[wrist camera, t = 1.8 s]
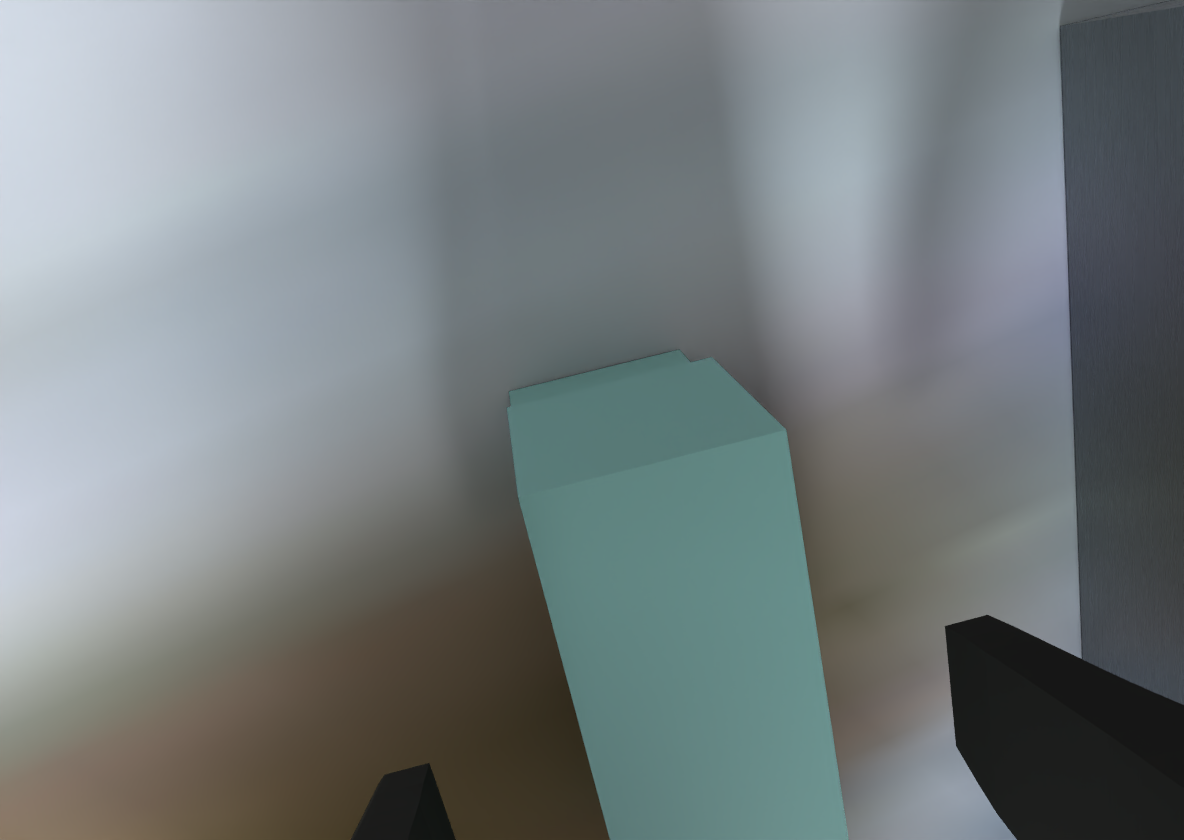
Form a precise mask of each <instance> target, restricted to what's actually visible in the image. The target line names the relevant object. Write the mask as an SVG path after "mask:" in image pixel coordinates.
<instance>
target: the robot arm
mask: <svg viewBox="0 0 1184 840" xmlns="http://www.w3.org/2000/svg"><path fill="white" fill-rule="evenodd" d="M945 631H946V642H947V653H948V664H949V674H950V685H951V696H952V707H953V717H954V728H955V739H956V746H957V748H958V750H959V752H960V753H961V755H962V757H963V758H964V760H965V762H966V764H967V765H968V767H969V769H970V770H971V772H972V774H973V775H974V777H975V779H976V781H977V782H978V784H979V785H980V787H981V789H982V790H983V792H984V793H985V795H986V797H987V798H988V800H989V801H990V803H991V805H992V806H993V808H994V810H995V811H996V813H997V814H998V815H999V817H1000V818H1001V819H1002V821H1003V822H1004V823H1005V825H1006V826H1007V827H1008V829H1009V830H1010V831H1011V832H1012V834H1013V835H1014V836H1015V838H1016V839H1017V840H1184V705H1183V704H1180V703H1178V702H1175V701H1173V700H1171V699H1169V698H1166V697H1164V696H1162V695H1159V694H1157V693H1155V692H1152V691H1150V690H1148V689H1145V688H1143V687H1141V686H1139V685H1136V684H1134V683H1132V682H1130V681H1127V680H1125V679H1123V678H1121V677H1119V676H1117V675H1114V674H1112V673H1110V672H1108V671H1106V670H1104V669H1101V668H1099V667H1097V666H1095V665H1093V664H1091V663H1089V662H1087V661H1084V660H1082V659H1080V658H1078V657H1076V656H1074V655H1072V654H1070V653H1068V652H1066V651H1064V650H1061V649H1059V648H1057V647H1055V646H1053V645H1051V644H1049V643H1047V642H1045V641H1043V640H1041V639H1039V638H1037V637H1034V636H1032V635H1030V634H1028V633H1026V632H1024V631H1022V630H1020V629H1018V628H1016V627H1013V626H1011V625H1009V624H1007V623H1005V622H1003V621H1000V620H998V619H996V618H994V617H991V616H989V615H985V616H981V617H978V618H974V619H970V620H966V621H963V622H959V623H955V624H951V625H948V626H945ZM351 840H456V839H455V836H454V833H453V830H452V828H451V825H450V822H449V819H448V816H447V813H446V810H445V807H444V804H443V801H442V799H441V796H440V793H439V790H438V787H437V784H436V781H435V778H434V775H433V772H432V770H431V767H430V764H429V763H428V764H424V765H420V766H416V767H412V768H409V769H405V770H401V771H397V772H394V773H390V774H386V775H384V776H383V778H382V779H381V781H380V783H379V784H378V786H377V788H376V790H375V792H374V794H373V796H372V798H371V800H370V802H369V804H368V806H367V808H366V810H365V812H364V814H363V816H362V818H361V820H360V822H359V824H358V826H357V828H356V830H355V832H354V834H353V836H352V838H351Z"/></svg>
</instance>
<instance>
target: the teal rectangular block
mask: <svg viewBox="0 0 1184 840" xmlns="http://www.w3.org/2000/svg"><path fill="white" fill-rule="evenodd" d="M509 397H510V404H511V407H507V413H508V421H509V429H510V437H511V445H512V453H513V461H514V468H515V476H516V484H517V492H518V499H519V503H520V506H521V510H522V514H523V517H524V521H525V525H526V529H527V532H528V536H529V540H530V544H531V547H532V551H533V555H534V558H535V562H536V566H537V570H538V573H539V577H540V581H541V585H542V588H543V592H544V596H545V599H546V603H547V607H548V611H549V614H550V618H551V622H552V626H553V629H554V633H555V637H556V640H557V644H558V648H559V652H560V655H561V659H562V663H563V667H564V670H565V674H566V678H567V681H568V685H569V689H570V693H571V696H572V700H573V704H574V708H575V711H576V715H577V719H578V722H579V726H580V730H581V734H582V737H583V741H584V745H585V749H586V752H587V756H588V760H589V763H590V767H591V771H592V775H593V778H594V782H595V786H596V790H597V793H598V797H599V801H600V804H601V808H602V812H603V816H604V819H605V823H606V827H607V831H608V834H609V838H610V840H849V839H848V832H847V825H846V819H845V812H844V806H843V799H842V793H841V786H840V779H839V773H838V766H837V760H836V753H835V747H834V740H833V733H832V727H831V720H830V714H829V707H828V701H827V694H826V687H825V681H824V674H823V668H822V661H821V654H820V648H819V641H818V635H817V628H816V622H815V615H814V608H813V602H812V595H811V589H810V582H809V576H808V569H807V562H806V556H805V549H804V543H803V536H802V530H801V523H800V516H799V510H798V503H797V497H796V490H795V484H794V477H793V470H792V464H791V457H790V451H789V444H788V438H787V431H786V429H785V428H784V427H783V426H782V425H781V424H780V423H779V422H778V421H777V420H776V419H775V418H774V417H773V416H772V415H771V414H770V413H769V412H768V411H767V410H766V409H764V408H763V407H762V406H761V405H760V404H759V403H758V402H757V401H756V400H755V399H754V398H753V397H752V396H751V395H750V394H749V393H748V392H747V391H746V390H745V389H744V388H743V387H742V386H741V385H740V384H739V383H738V382H737V381H736V380H735V379H734V378H733V377H732V376H731V375H730V374H729V373H728V372H727V371H726V370H725V369H724V368H723V367H721V366H720V365H719V364H718V363H717V362H716V361H715V360H714V359H713V358H712V357H710V358H706V359H702V360H698V361H694V362H690V361H689V360H688V359H687V358H686V356H685V355H684V354H683V353H682V352H681V351H680V350H675V351H671V352H667V353H663V354H659V355H655V356H651V357H647V358H643V359H638V360H634V361H630V362H626V363H622V364H618V365H614V366H610V367H606V368H602V369H598V370H594V371H590V372H586V373H582V374H578V375H573V376H569V377H565V378H561V379H557V380H553V381H549V382H545V383H541V384H537V385H533V386H529V387H525V388H521V389H517V390H513V391H509Z"/></svg>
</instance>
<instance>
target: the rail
mask: <svg viewBox="0 0 1184 840" xmlns="http://www.w3.org/2000/svg"><path fill="white" fill-rule="evenodd" d="M1060 32H1061V60H1062V88H1063V117H1064V145H1065V173H1066V202H1067V230H1068V259H1069V287H1070V315H1071V344H1072V372H1073V400H1074V429H1075V457H1076V486H1077V514H1078V542H1079V571H1080V599H1081V627H1082V656H1083V660H1084V661H1087V662H1089V663H1091V664H1093V665H1095V666H1097V667H1099V668H1101V669H1104V670H1106V671H1108V672H1110V673H1112V674H1114V675H1117V676H1119V677H1121V678H1123V679H1125V680H1127V681H1130V682H1132V683H1134V684H1136V685H1139V686H1141V687H1143V688H1145V689H1148V690H1150V691H1152V692H1155V693H1157V694H1159V695H1162V696H1164V697H1166V698H1169V699H1171V700H1173V701H1175V702H1178V703H1180V704H1183V705H1184V0H1171V1H1166V2H1162V3H1158V4H1153V5H1149V6H1145V7H1141V8H1136V9H1132V10H1128V11H1123V12H1119V13H1115V14H1110V15H1106V16H1102V17H1098V18H1093V19H1089V20H1085V21H1080V22H1076V23H1072V24H1067V25H1063V26H1060Z"/></svg>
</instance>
